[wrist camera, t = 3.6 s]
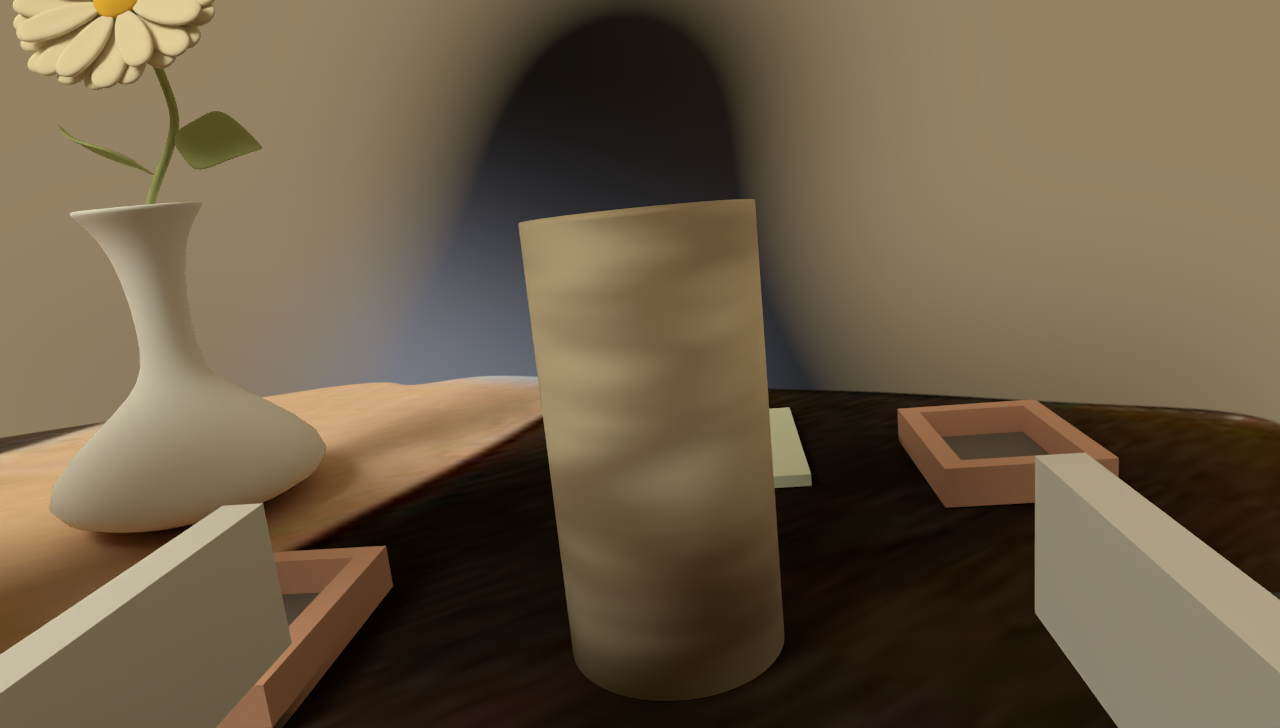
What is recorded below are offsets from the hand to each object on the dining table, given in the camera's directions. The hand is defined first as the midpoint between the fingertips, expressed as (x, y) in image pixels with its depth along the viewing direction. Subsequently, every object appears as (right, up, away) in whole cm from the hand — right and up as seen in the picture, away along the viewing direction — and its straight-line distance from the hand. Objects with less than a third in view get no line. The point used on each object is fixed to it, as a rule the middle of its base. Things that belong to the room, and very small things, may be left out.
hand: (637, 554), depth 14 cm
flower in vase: (-20, -4, +25) cm, 32 cm away
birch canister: (+1, -5, +10) cm, 11 cm away
